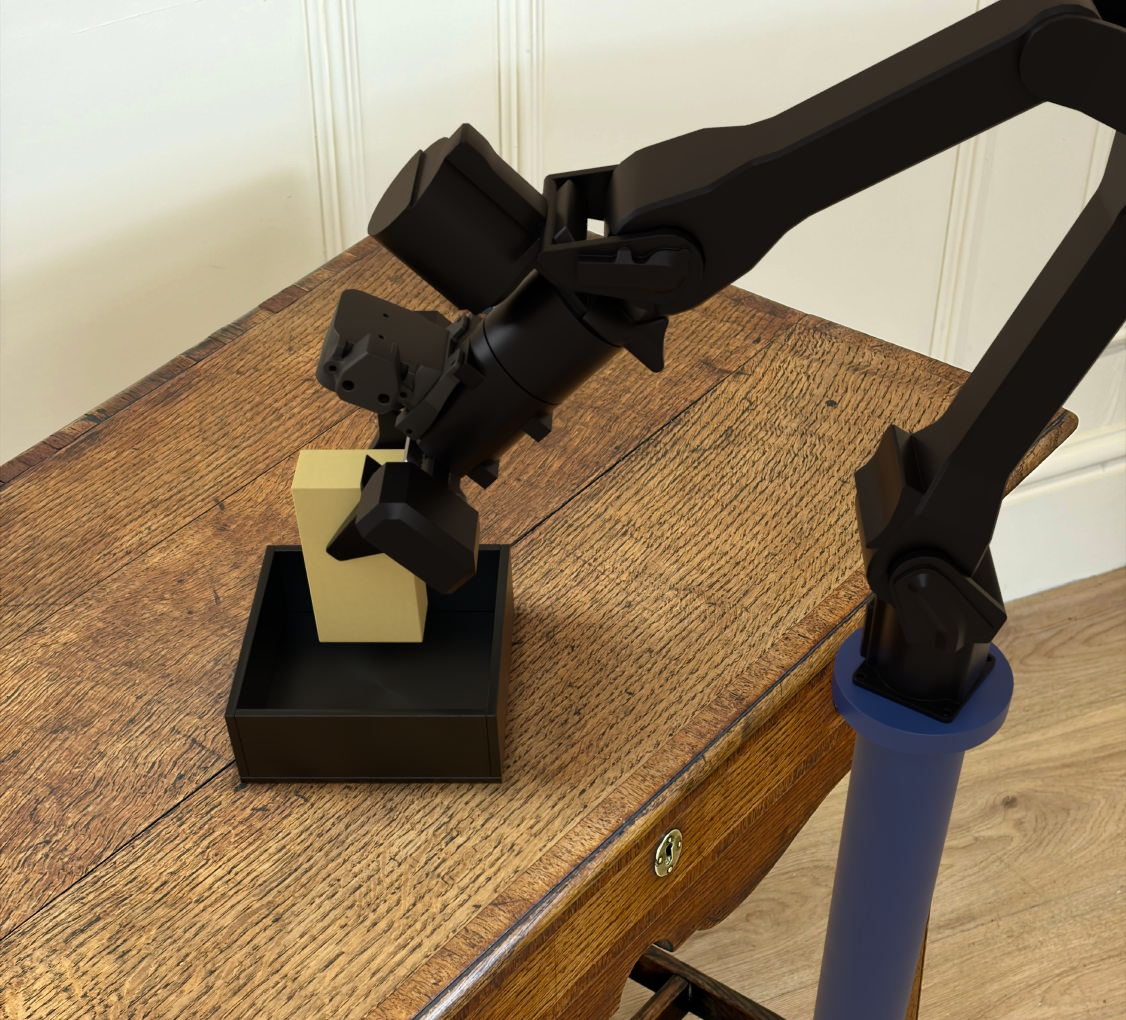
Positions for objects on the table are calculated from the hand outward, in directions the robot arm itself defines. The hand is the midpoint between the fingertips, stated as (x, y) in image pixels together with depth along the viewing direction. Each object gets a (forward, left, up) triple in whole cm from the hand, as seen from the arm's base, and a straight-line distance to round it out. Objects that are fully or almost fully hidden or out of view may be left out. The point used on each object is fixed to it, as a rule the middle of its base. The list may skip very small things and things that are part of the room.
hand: (337, 533), depth 88 cm
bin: (-1, -1, -12) cm, 12 cm away
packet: (-1, -1, -7) cm, 7 cm away
